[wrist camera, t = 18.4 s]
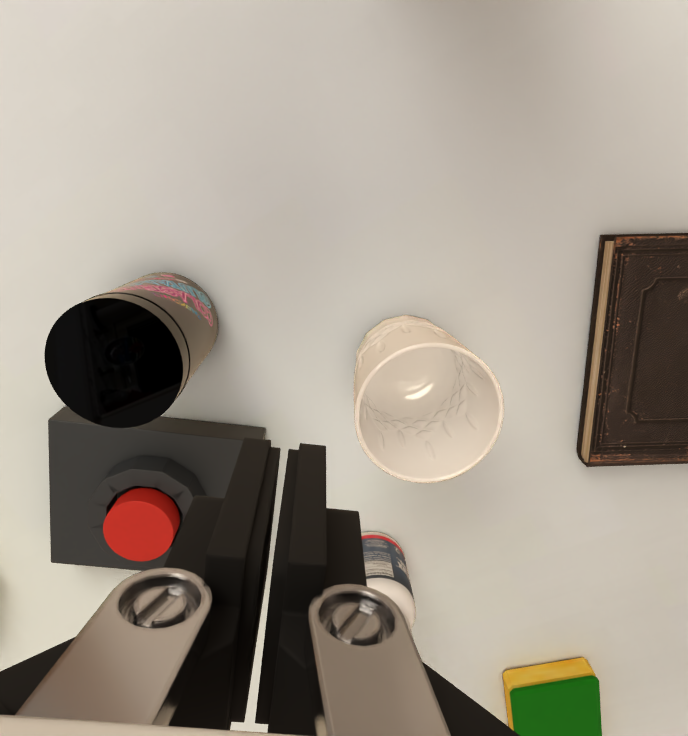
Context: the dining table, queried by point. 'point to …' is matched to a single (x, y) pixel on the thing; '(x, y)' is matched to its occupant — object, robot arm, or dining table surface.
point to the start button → (141, 524)
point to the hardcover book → (637, 354)
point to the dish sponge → (553, 699)
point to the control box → (130, 476)
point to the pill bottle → (388, 572)
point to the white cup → (423, 401)
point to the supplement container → (131, 349)
